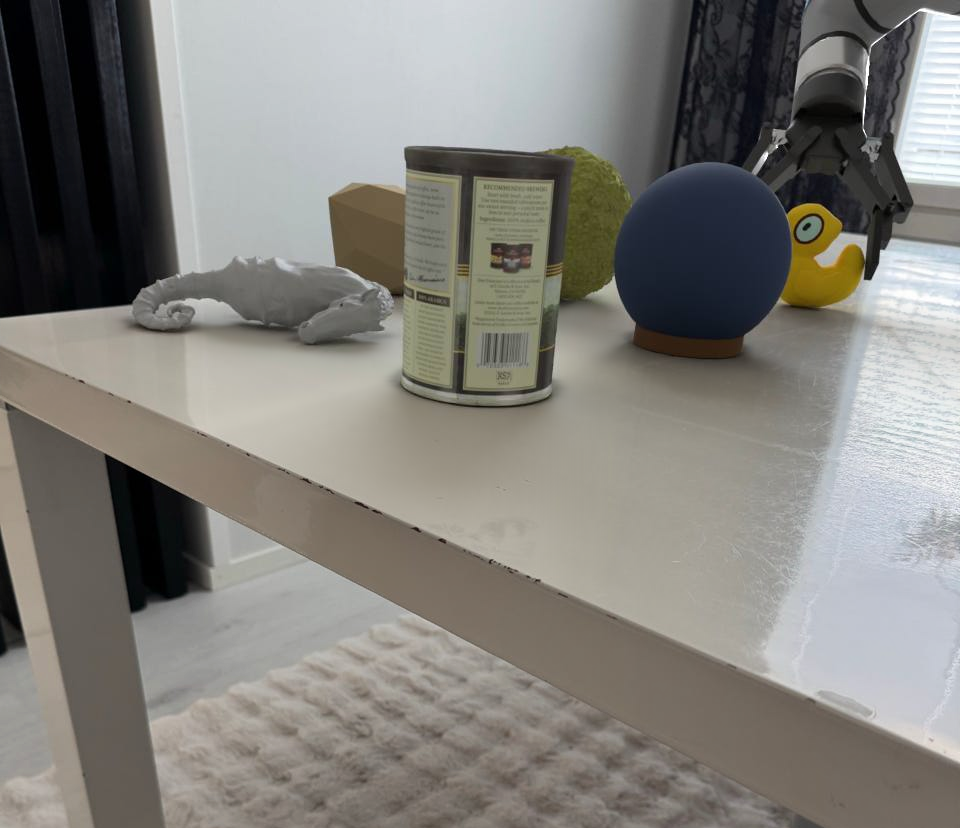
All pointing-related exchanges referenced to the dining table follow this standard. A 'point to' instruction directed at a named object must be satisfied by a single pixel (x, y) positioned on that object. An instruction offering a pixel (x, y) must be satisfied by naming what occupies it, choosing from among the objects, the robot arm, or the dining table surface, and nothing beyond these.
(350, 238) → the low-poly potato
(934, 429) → the dining table surface
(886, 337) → the dining table surface
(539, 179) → the coffee can
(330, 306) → the seahorse
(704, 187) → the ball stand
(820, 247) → the duckling
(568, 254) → the fruit
